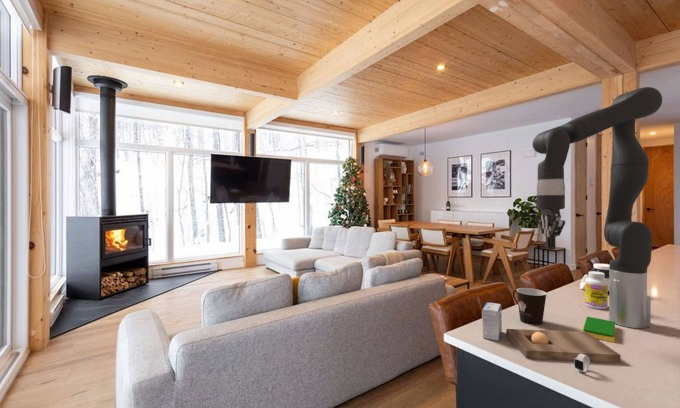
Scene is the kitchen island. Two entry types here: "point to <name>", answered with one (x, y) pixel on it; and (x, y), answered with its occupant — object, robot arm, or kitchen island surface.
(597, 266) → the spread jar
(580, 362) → the smartwatch
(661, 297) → the kitchen island surface
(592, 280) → the supplement bottle
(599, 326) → the dish sponge
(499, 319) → the medicine box
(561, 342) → the walnut board
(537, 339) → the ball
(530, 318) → the coffee mug
